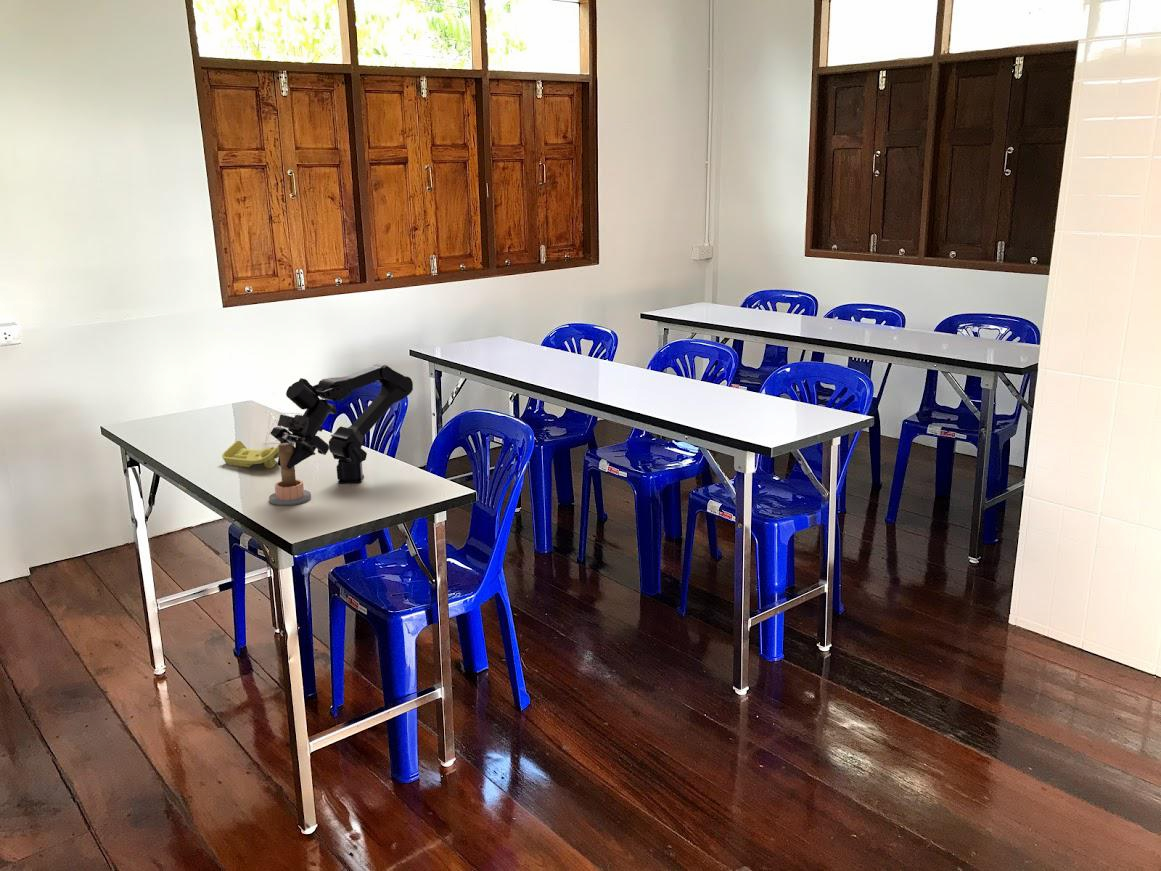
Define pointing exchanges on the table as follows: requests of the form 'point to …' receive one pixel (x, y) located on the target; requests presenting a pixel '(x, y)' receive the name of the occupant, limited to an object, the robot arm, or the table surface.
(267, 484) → the table surface
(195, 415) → the table surface
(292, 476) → the walnut rail post
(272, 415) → the geometric polyhedron
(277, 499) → the ring
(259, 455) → the plastic component
